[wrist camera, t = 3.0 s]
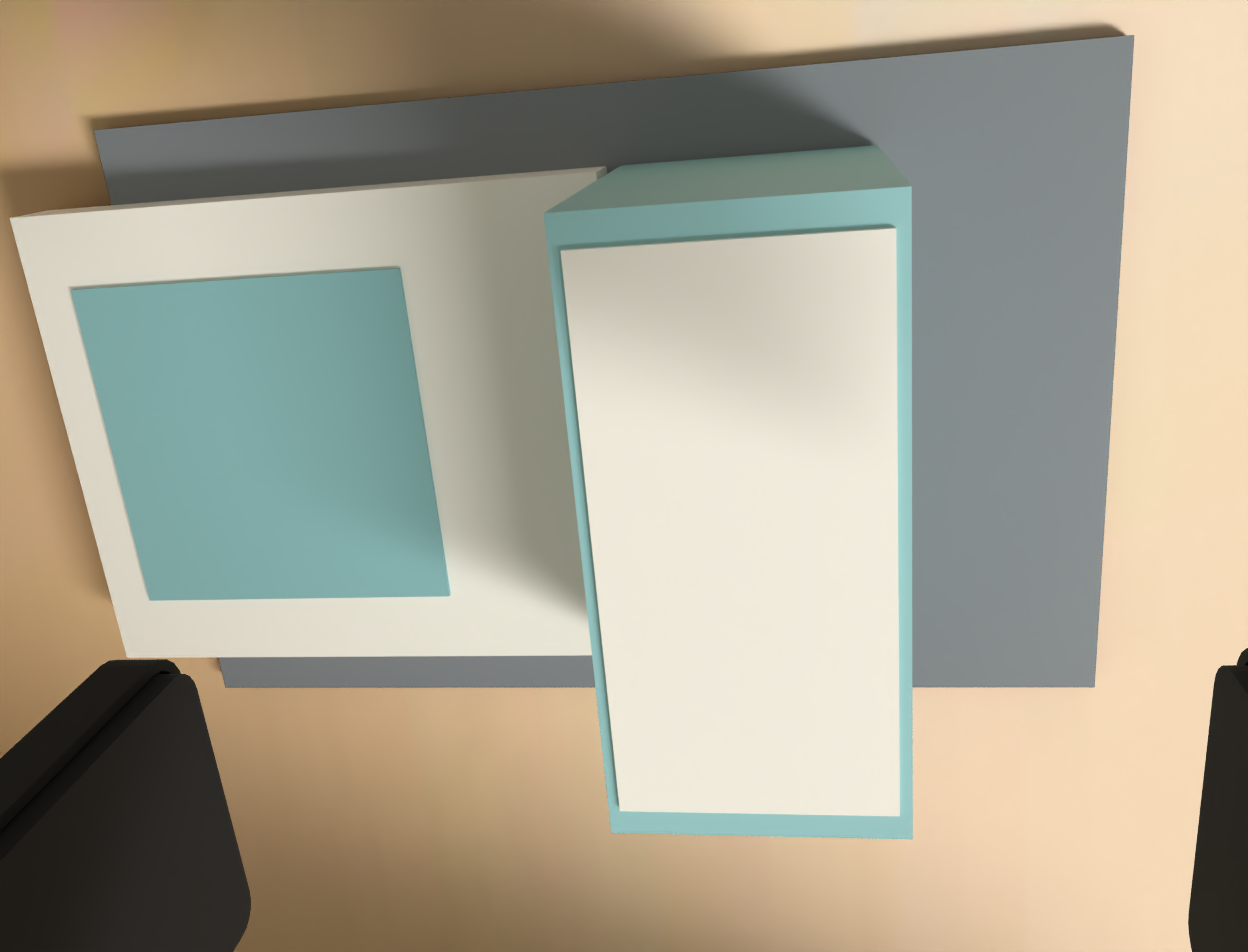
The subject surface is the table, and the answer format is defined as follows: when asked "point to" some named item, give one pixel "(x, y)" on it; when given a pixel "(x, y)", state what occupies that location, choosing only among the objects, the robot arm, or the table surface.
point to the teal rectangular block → (745, 487)
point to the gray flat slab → (556, 362)
